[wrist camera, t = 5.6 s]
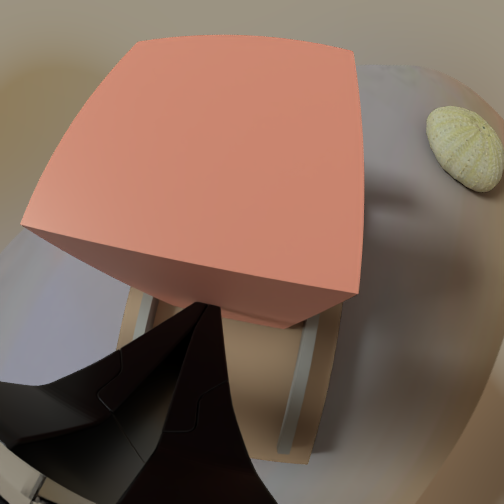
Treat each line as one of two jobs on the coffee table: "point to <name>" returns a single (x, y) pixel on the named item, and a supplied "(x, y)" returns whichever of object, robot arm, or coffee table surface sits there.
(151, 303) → the base
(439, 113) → the sea urchin shell
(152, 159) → the salmon pink rectangular block
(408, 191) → the coffee table surface
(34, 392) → the robot arm
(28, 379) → the coffee table surface
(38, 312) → the coffee table surface
